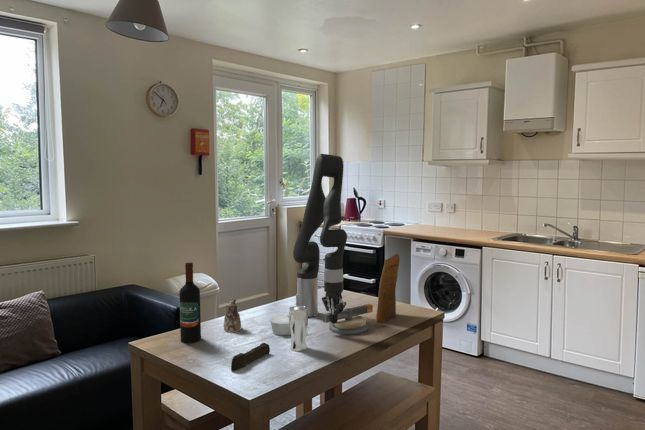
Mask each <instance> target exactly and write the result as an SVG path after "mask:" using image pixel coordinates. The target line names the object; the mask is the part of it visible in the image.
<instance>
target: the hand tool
mask: <svg viewBox="0 0 645 430" xmlns="http://www.w3.org/2000/svg"><path fill="white" fill-rule="evenodd" d="M270 352H271V349H270V345H269V343H266V342H261V343H260V344H259V345H258V346H256V347H254V348H251V349H250V350H248V351H246V352H244V353H243V352H242V353H241V352H239V353H238V354H236V355H234V356H233V357H232V360H231V364H230V371H231V372H232V371H233V372H234V371H237V370H240V369H242V368H245V367H246V365H247V364H249V363H251V362H252V361H254V360H256V359H258V358H260V357H262V356H264V355H265V354H266V355H269V354H270Z"/></svg>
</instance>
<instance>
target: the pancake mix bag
mask: <svg viewBox="0 0 645 430" xmlns="http://www.w3.org/2000/svg"><path fill="white" fill-rule="evenodd" d="M399 266H400V255H399V253H396V254H394V255H392V256H391V257H389V258H386V259H385V260H384V263H383V268H382V272H381V276H380V280H379V287H378V297H377V308H376V315H375V321H376V323H386V322H387V321H390V320H391V319H393V318H395V317H396V316H397V309H396V308H397V305H396V304H397V301H396V299H397V298H396V287H397V281H398V276H399V275H398V274H399V273H398V272H399Z"/></svg>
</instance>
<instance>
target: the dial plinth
mask: <svg viewBox="0 0 645 430" xmlns="http://www.w3.org/2000/svg"><path fill="white" fill-rule="evenodd" d="M328 329H329V331H330V332H333V333H334V334H338V335H345V336H346V335H347V336H354V335H362V334H365V333H366V332H367V331H368V330H369V325H368V323H367V322H366V325H365V326H364V327H363V328H360V329H352V330H347V329H339V328H336V327H334V326H332V323H331V322H329V326H328Z"/></svg>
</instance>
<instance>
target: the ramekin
mask: <svg viewBox="0 0 645 430" xmlns="http://www.w3.org/2000/svg"><path fill="white" fill-rule="evenodd" d="M269 322H270V326H271V330H272V333H273V334H275V335H277V336H291V332H290V327H289V315H283V314H282V315H277V316H274V317H272V318H270V321H269Z"/></svg>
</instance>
